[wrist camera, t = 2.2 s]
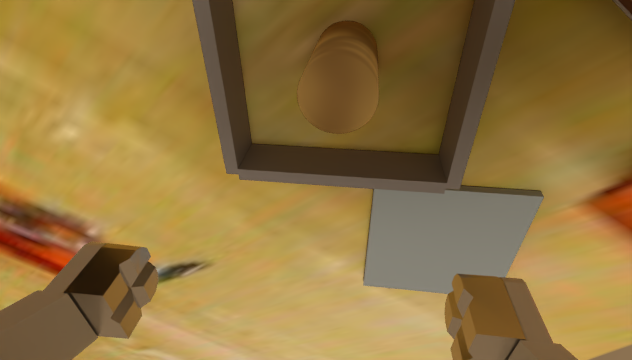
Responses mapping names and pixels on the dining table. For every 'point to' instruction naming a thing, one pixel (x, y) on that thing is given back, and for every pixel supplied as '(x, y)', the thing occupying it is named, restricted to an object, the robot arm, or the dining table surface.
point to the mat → (445, 235)
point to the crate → (343, 163)
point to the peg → (341, 79)
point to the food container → (625, 6)
